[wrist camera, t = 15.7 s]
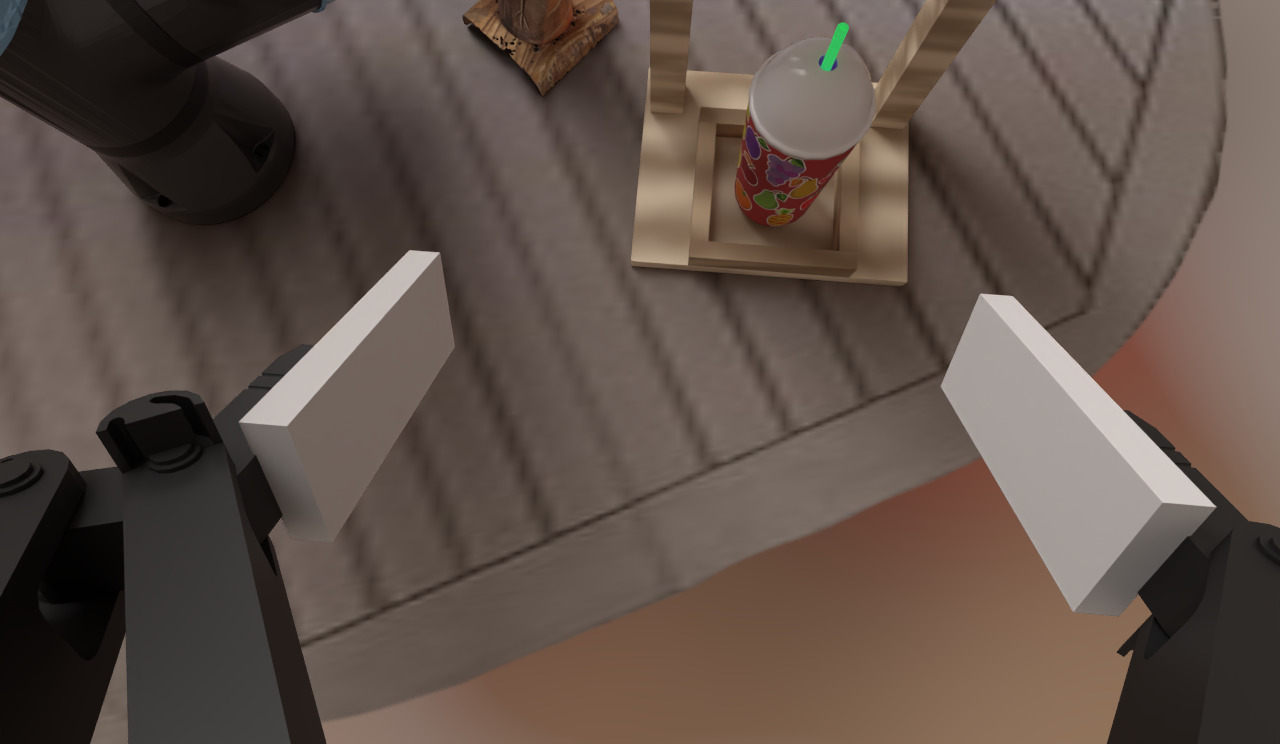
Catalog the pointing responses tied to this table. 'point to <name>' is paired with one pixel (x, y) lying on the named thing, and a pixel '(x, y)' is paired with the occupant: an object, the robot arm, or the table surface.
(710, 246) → the wooden pedestal stand
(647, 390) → the table surface
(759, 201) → the smoothie
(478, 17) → the bird sculpture
